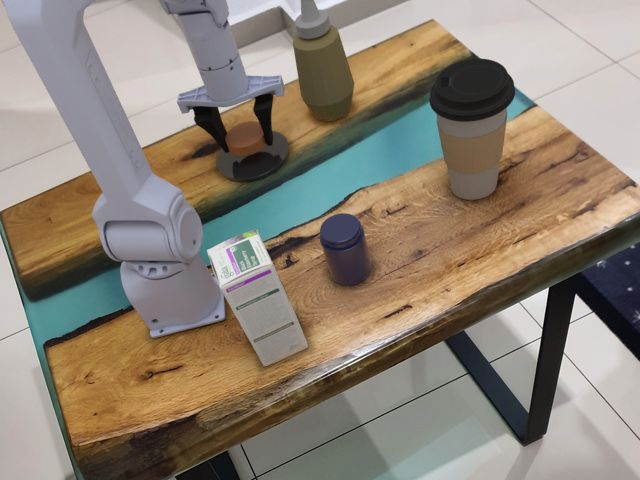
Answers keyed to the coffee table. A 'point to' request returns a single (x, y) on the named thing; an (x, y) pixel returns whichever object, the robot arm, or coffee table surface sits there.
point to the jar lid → (245, 138)
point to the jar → (345, 249)
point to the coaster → (254, 161)
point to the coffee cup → (472, 123)
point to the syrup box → (257, 297)
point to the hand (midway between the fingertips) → (249, 144)
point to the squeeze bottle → (322, 64)
